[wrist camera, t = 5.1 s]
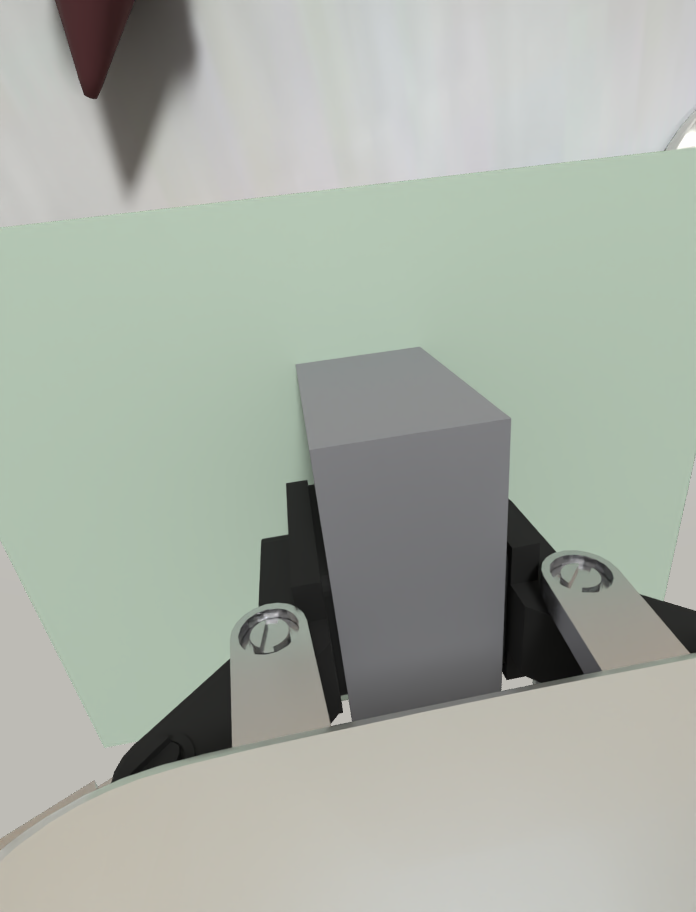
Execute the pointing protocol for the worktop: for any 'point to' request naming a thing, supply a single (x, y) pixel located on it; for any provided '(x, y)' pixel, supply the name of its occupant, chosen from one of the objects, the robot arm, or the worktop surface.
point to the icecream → (93, 37)
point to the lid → (343, 415)
